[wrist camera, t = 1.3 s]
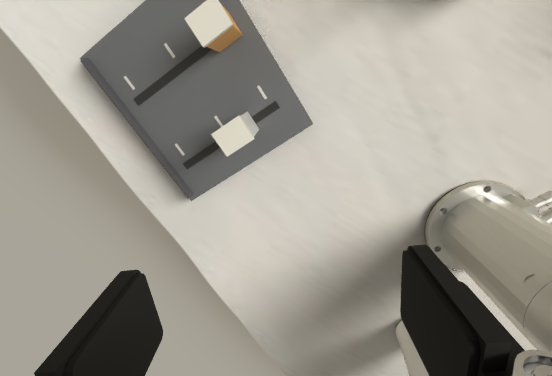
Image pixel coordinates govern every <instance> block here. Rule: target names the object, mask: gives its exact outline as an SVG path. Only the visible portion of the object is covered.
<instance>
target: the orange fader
mask: <svg viewBox="0 0 552 376" xmlns="http://www.w3.org/2000/svg"><path fill="white" fill-rule="evenodd" d="M184 19H185V21H186V22H187V24H188V25H189V27H190V28H191V30H192V31H193V33H194V34H195V36H196V37H197V39H198V40H199V42H200V43H201V45H202V46H203V47H204V48H205V47H208V48H211V49H213V50H215V51H218V52H221V51H223V50H224V49H225V48H227V47H228V46H229V45H231V44H232V43H233V42H235V41H236V40H237V39H238V38H240V37H241V36H242V33H241V31H240V30H239V28H238V26H237V25H236V23H235V22H234V20H233V18H232V17H231V15H230V13H229V12H228V11H227V10H226V9H225V8H224V7H223V6H222V4H221V3H220V2H219V0H206V1H205V2H204V3H203V4H201V5H200V6H199V7H198V8H196V9H195V10H194V11H193V12H192V13H190V14H189V15H188V16H187V17H185V18H184Z"/></svg>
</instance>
